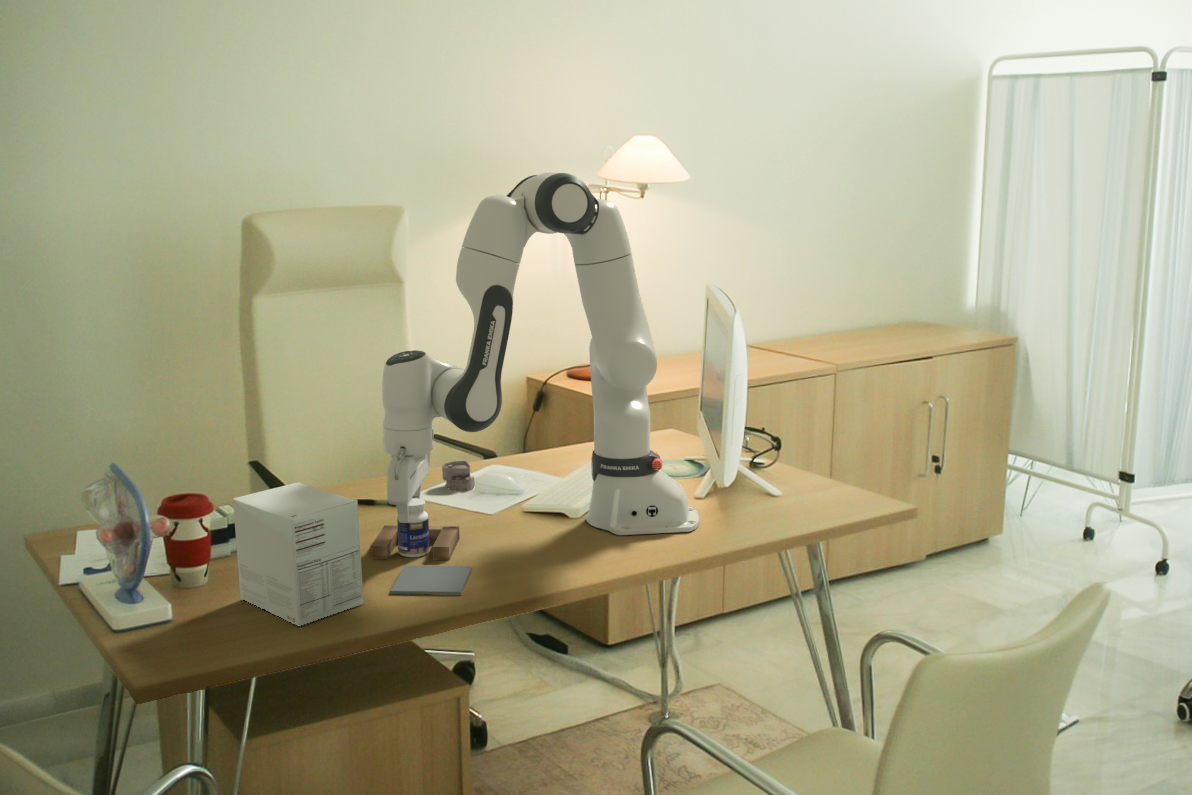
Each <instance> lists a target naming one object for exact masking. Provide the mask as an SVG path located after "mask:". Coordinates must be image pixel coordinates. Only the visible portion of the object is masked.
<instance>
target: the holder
mask: <svg viewBox="0 0 1192 795" xmlns="http://www.w3.org/2000/svg"><path fill="white" fill-rule="evenodd" d="M460 537H461V536H460V526H459V525H429V543H434V544H433V545H432V559H433V560H434V561H450V559H451V558H452V556H453V553H454V551H455V550H456V547H457V545H458V542H459V541H460ZM396 546H398V526H397V525H396V524H395V525H391V524H389V525H387V524H385V525H384V526H383V527H382V528H381V530H380V531H379V533H378V534H377V536H376V538H375V539H374V540H373V542H372V543H371V545H370V559H371V560H388V559H389V557H390V556H391V554H392V553H391V552H393V551H394V549H395V548H396Z"/></svg>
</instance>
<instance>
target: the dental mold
mask: <svg viewBox="0 0 1192 795" xmlns="http://www.w3.org/2000/svg"><path fill="white" fill-rule="evenodd" d="M441 467H442V468H441V471H442V481H446V482H445V485H444V488H445V487H446V488H445V489H448V488H449V489H450V490H453V489H458V490H457V491H466V492H469V491H473V490H474V489H475V488H474V486H475V487H476V485H475V477H474V475H472V476H471V465H470V464H469V462H468V461H466V460H457V461H456V460H455V461H450V462H445V463H444V464H442V466H441ZM473 488H474V489H473ZM449 489H448V490H449Z"/></svg>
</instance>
